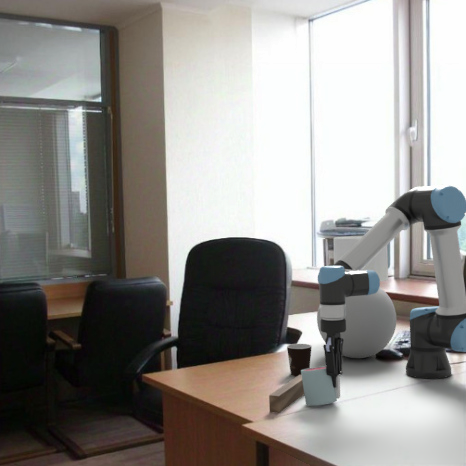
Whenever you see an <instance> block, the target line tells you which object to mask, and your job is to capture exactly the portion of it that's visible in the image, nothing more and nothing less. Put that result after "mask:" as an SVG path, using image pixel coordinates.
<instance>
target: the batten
mask: <svg viewBox="0 0 466 466" xmlns="http://www.w3.org/2000/svg"><path fill="white" fill-rule="evenodd" d="M303 396H305V395H304V388H303V382H302V375H298V376H297V377H296V376H294V378H292V379H291V380H290V381H288V382H287V383H285V384H284V385H282V386H281V387H279V388H278V389H276V390H275V391H273V392H272V393H270V394H269V396H268V399H269V400H268V401H269V403H268V404H269V405H268V406H269V413H270V414H271V413H273V414H280V413H282V412H283V411H285V410H286V409H287V408H288V407H290V406H291V405H292V404H294V403H295V402H296V401H297V400H299V399H301V397H303Z"/></svg>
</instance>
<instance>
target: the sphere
mask: <svg viewBox="0 0 466 466" xmlns="http://www.w3.org/2000/svg"><path fill="white" fill-rule="evenodd" d="M345 304H346V317H344V319H345V320H346V331H345V332H342V333H340V335H341V338H343V340H344V341H343V351H342V357H347V358H350V359H364V358H368V357H372V356H374V355H376V354H379V352H382V350H383V349H385V348H386V347H387V346H388V344H389V343H390V342H391V340H392V339H393V336H394V334H395V331H396V327H397V312H396V308H395V304H394V302H393V301H392V299H391V297H390V296H389V295H388V293H387V292H386V291H385V290H384V289H382V287H381V286H380V287H379V290H378V291H377V292H376V293H375V294H371V295H368V296H366V295H362V296H349V297H346V298H345ZM319 307H320V304H319V305H318V308H317V313H316V314H317V315H316V322H317V328H318V331H319V334H320V336H321V338H322V339H323V341H324V342H325V339H326V337H327V333H325V332H322V331H321V328H320V320H321V319H322V317H320V310H319Z"/></svg>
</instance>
